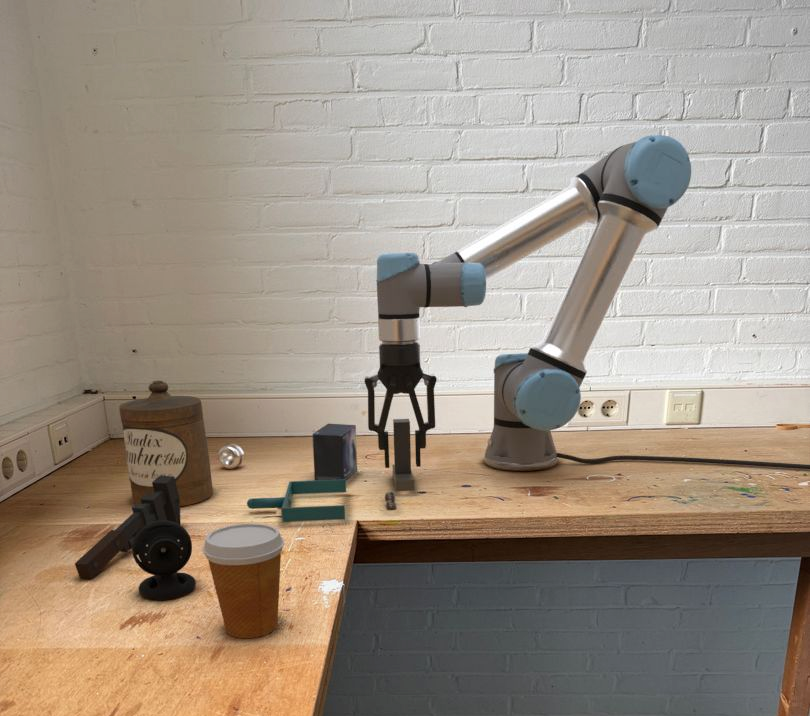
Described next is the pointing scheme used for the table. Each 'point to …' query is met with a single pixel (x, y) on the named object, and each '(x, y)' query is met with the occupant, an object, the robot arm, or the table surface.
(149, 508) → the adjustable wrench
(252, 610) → the disposable coffee cup
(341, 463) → the small box
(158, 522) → the webcam
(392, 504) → the glossy brown capsule
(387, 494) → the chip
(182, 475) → the wooden container
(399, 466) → the gray l-shaped block
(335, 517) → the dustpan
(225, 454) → the grooved metal pulley
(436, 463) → the table surface
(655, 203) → the robot arm
